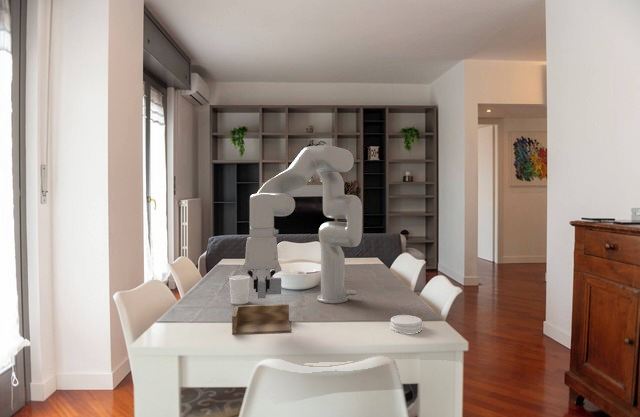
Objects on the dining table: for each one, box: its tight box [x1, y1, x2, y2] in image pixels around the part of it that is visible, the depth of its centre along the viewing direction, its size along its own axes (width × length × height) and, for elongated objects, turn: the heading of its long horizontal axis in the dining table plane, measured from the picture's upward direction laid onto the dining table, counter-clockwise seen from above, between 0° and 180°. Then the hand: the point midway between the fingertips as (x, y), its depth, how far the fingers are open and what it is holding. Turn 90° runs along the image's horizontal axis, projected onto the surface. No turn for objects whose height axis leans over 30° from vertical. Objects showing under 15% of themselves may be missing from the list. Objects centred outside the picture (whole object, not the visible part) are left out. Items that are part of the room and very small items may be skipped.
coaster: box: [390, 314, 423, 334], centre depth 137 cm, size 10×10×4 cm
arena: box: [231, 303, 292, 335], centre depth 138 cm, size 18×12×6 cm, turn 97°
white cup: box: [228, 274, 251, 306], centre depth 167 cm, size 8×8×10 cm
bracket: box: [257, 277, 282, 299], centre depth 135 cm, size 8×7×5 cm
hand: (261, 290), depth 134 cm, fingers closed on bracket
